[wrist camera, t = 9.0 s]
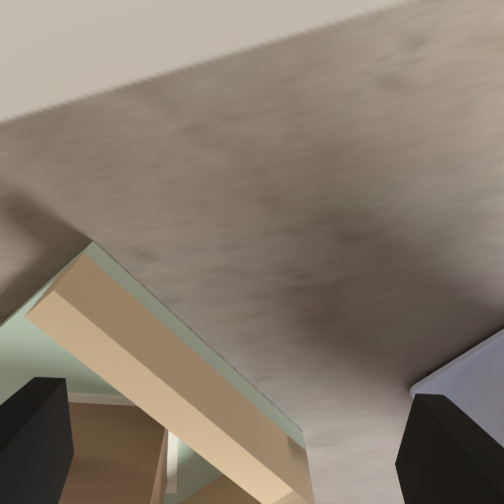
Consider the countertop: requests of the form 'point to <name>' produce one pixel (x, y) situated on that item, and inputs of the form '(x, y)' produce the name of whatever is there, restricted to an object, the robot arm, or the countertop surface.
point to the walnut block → (115, 456)
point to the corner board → (156, 383)
